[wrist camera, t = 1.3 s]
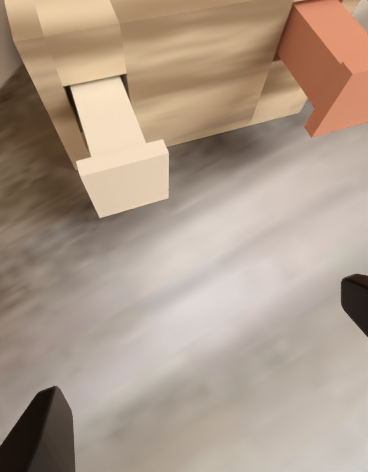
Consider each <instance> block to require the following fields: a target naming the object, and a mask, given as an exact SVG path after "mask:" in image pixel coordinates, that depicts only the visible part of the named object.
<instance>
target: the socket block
mask: <svg viewBox="0 0 368 472" xmlns="http://www.w3.org/2000/svg"><path fill="white" fill-rule="evenodd" d="M4 1H5V6H6V10H7V15H8V19H9V24H10V27H11V33H12V37H13V41H14V44H15V46H16V48H17V50H18V52H19V54H20V56H21V58H22V60H23V62H24V64H25V67H26V69H27V71H28V73H29V75H30V77H31V79H32V81H33V83H34V85H35V87H36V89H37V91H38V94H39V96H40V98H41V100H42V102H43V104H44V106H45V108H46V110H47V112H48V114H49V116H50V118H51V120H52V123H53V125H54V127H55V129H56V131H57V133H58V135H59V137H60V139H61V141H62V143H63V145H64V147H65V149H66V152H67V154H68V156H69V158H70V160H71V162H72V164H73V166H74V168H75V170H78V167H77V164H76V161H78V160H82V159H86V158H90V157H91V154H90V150H89V147H88V144H87V140H86V137H85V134H84V130H83V127H82V124H81V121H80V117H79V114H78V111H77V107H76V104H75V101H74V98H73V94H72V91H71V88H70V85H72V84H77V83H82V82H87V81H92V80H97V79H102V78H107V77H111V76H116V75H120V78H121V80H122V83H123V86H124V88H125V91H126V93H127V96H128V98H129V101H130V103H131V106H132V108H133V111H134V113H135V116H136V118H137V121H138V124H139V126H140V129H141V131H142V134H143V136H144V139H145V141H146V143H150V142H154V141H158V140H162V139H163V141H164V143H165V145H166V147H169V146H173V145H177V144H181V143H184V142H188V141H192V140H196V139H200V138H204V137H208V136H211V135H215V134H219V133H223V132H227V131H231V130H235V129H239V128H242V127H246V126H250V125H254V124H258V123H262V122H266V121H270V120H273V119H277V118H281V117H285V116H289V115H293V114H297V113H300V111H301V109H302V107H303V105H304V104H305V102H306V100H307V98H308V97H307V96H306V95H305V93H304V92H303V90H302V89H301V87H300V86H299V84H298V83H297V82H296V80H295V79H294V77H293V76H292V74H291V73H290V72H289V70H288V69H287V67H286V66H285V64H284V63H283V61H282V60H281V59H280V57H279V56H278V54H277V53H276V49H277V47H278V44H279V41H280V38H281V35H282V32H283V30H284V27H285V24H286V21H287V18H288V15H289V13H290V10H291V7H292V4H293V2H297V1H302V0H4ZM338 1H339V2H340V3H341V4H342V5H343V6H344V7H345V8H346V10H347V11H348V12H349V13H350V14H351V15H352V14H353V12H354V10H355V9H356V7H357V5H358V3H359V1H360V0H338Z"/></svg>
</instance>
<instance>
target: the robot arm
mask: <svg viewBox="0 0 368 472" xmlns="http://www.w3.org/2000/svg"><path fill="white" fill-rule="evenodd" d="M341 305H342V307H343V309H344V311H345V312H346V313H347V314H348V315H349V317H350V318H351V319H352V320H353V321H354V322H355V323H356V324H357V326H358V327H359V328H360V329H361V330H362V331H363V332H364V334H365V335H366V336H367V337H368V276H366V275H361V274H353V275H350V276H348V277H345V278H343V279H342V281H341ZM0 472H75V453H74V432H73V416H72V411H71V408H70V406H69V405H68V403H67V401H66V399H65V397H64V395H63V394H62V392H61V390H60V388H59V387H57V386H53V387H50V388H47V389H45V390H42V391H40V392H38V393H37V394H36V396H35V397H34V399H33V400H32V401H31V403H30V404H29V406H28V407H27V409H26V410H25V411H24V413H23V414H22V416H21V417H20V419H19V420H18V421H17V423H16V424H15V426H14V427H13V429H12V430H11V432H10V433H9V434H8V436H7V437H6V439H5V440H4V442H3V443H2V444H1V446H0Z"/></svg>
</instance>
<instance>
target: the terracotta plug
mask: <svg viewBox="0 0 368 472" xmlns="http://www.w3.org/2000/svg"><path fill="white" fill-rule="evenodd" d="M276 53H277V54H278V56H279V57H280V59H281V60H282V61H283V63H284V64H285V66H286V67H287V69H288V70H289V72H290V73H291V74H292V76H293V77H294V79H295V80H296V82H297V83H298V84H299V86H300V87H301V89H302V90H303V92H304V93H305V95H306V96H307V97H308V99H309V100H310V102H311V103H312V105H313V106H314V108H315V109H314V111H313V113H312V114H311V116H310V118H309V119H308V121H307V123H306V125H305V126H304V127H305V129H306V130H307V132H308V133H309V135H310V136H311V138H312V137H316V136H319V135H323V134H326V133H330V132H334V131H337V130H341V129H344V128H348V127H352V126H355V125H359V124H362V123H366V122H368V33H367V32H366V31H365V30H364V29H363V28H362V26H361V25H360V24H359V23H358V22H357V21H356V20H355V19H354V17H353V16H352V15H351V14H350V13H349V12H348V11H347V10H346V8H345V7H344V6H343V5H342V4H341V3H340V2H339V1H338V0H302V1H297V2H293V4H292V7H291V10H290V13H289V15H288V18H287V21H286V24H285V27H284V30H283V32H282V35H281V38H280V41H279V44H278V47H277V49H276Z"/></svg>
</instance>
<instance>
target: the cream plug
mask: <svg viewBox="0 0 368 472" xmlns="http://www.w3.org/2000/svg"><path fill="white" fill-rule="evenodd" d="M70 88H71V91H72V94H73V98H74V101H75V104H76V107H77V111H78V114H79V117H80V121H81V124H82V127H83V130H84V134H85V137H86V140H87V144H88V147H89V150H90V154H91V157H90V158H86V159H82V160H78V161H76V164H77V167H78V171H79V174H80V177H81V180H82V182H83V184H84V186H85V188H86V190H87V192H88V194H89V196H90V198H91V201H92V203H93V205H94V207H95V209H96V211H97V213H98V215H99V217H100V218H102V217H105V216H109V215H112V214H116V213H119V212H122V211H126V210H129V209H133V208H136V207H140V206H143V205H146V204H150V203H153V202H157V201H160V200H163V199H167V198H168V187H169V152H168V150H167V148H166V145H165V143H164V141H163V139H162V140H158V141H154V142H150V143H146V141H145V139H144V136H143V134H142V131H141V129H140V126H139V124H138V121H137V118H136V116H135V113H134V111H133V108H132V106H131V103H130V101H129V98H128V96H127V93H126V91H125V88H124V86H123V83H122V80H121V78H120V75H116V76H111V77H107V78H102V79H97V80H92V81H87V82H82V83H77V84H72V85H70Z"/></svg>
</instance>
